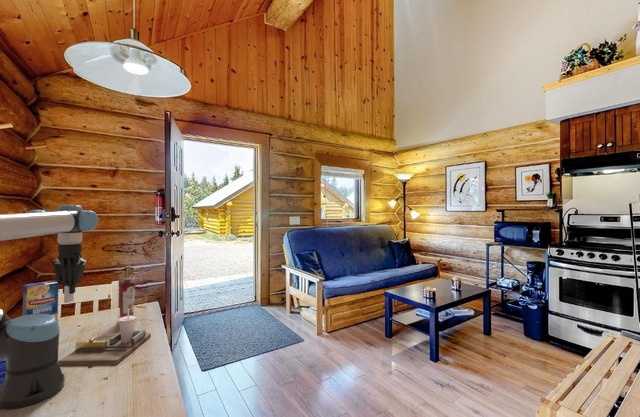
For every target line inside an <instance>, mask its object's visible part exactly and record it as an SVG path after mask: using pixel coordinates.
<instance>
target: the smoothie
mask: <svg viewBox="0 0 640 417" xmlns="http://www.w3.org/2000/svg"><path fill="white" fill-rule="evenodd" d="M117 320H118V322H117V323H118V325H119V332H120V333H121V341H122V343H127V342H130V341H131V338H132V336H133V330H135V322H136V320H137V317H136V316H135V315H134V316H129V308H128V316H125V317H122V318H120V319H119V318H118V319H117Z"/></svg>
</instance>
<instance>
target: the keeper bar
mask: <svg viewBox="0 0 640 417" xmlns="http://www.w3.org/2000/svg"><path fill="white" fill-rule="evenodd" d="M95 338H96V337H92V338H91V337H90V338H89V339H88V340H77V341H76V342H75V350H76V349H106V348H107V341H94V340H95Z"/></svg>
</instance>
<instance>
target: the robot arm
mask: <svg viewBox="0 0 640 417" xmlns="http://www.w3.org/2000/svg"><path fill="white" fill-rule="evenodd" d="M98 225H99V216H98V214H97V213H96V212H95V211H92V210H86V209H83V207H82V206H81V205H79V204H77V205H76V204H75V205H73V204H60V205H58V209H40V208H39V209H32V210H28V211H27V212H19V213H3V214H1V213H0V242H2V241H10V240H16V239H17V240H18V239H24V238H33V237H39V236H47V235H56V234H57V243H58V245H57V254H58V255H57V258H56V259H54V260H51V261H50V263H51V264H52V266H53V269H54V273H55V278H56V282H57V284H58V285H61V286H62V294H63V296H64V298H63V303H65V304H66V303H71V302H74V294H75V293H76V285H78V284H80V283H82V279H83V275H84V272H85V268H86V265H88V264H87V263H89V262H88V260H87V259H84V258H82V252H83V244H82V242H83V232H86V231H87V232H89V231H93V230H95V229H96V228H97V226H98ZM59 323H60V322H59V318H58V319H57V318H56V317H55V316H53V315H49V314H35V315H34V314H30V315H24V316H23V315H21V316H17V317H15V318H10V317H9V315H8V314H7V313H5V312H4V311H3V309H2V308H0V361H5V362H6V363H5V366H6V367H5V377H4V378H3V382H2V383H1V386H0V409H2V410H12V409H18V408H25V407H27V406H30V405H35V404H37V403H39V402H43V401H44V400H47V399H49V398H50V397H53V396H54V395H56V394H58V392H60V391H61V390H62V389H63V388H64V386H65V383H66V382H65V380H66V379H65V378H66V377H65V375H64V373H63V372H62V369H61V367H60V366H61V365H59V363H58V361H59V343H60V342H59V341H60V326H59V325H60V324H59Z"/></svg>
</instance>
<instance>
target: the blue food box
mask: <svg viewBox="0 0 640 417" xmlns="http://www.w3.org/2000/svg"><path fill="white" fill-rule="evenodd" d="M58 311H59V284H57V280H56V281H55V280H50V281H48V280H47V281H42V282H35V283H29V284H23V289H22V316H24V315H30V314H34V315H35V314H49V315H53V316H55V317H56V318H57V319H58V320H59V317H58V316H59V315H58V314H59V312H58Z"/></svg>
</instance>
